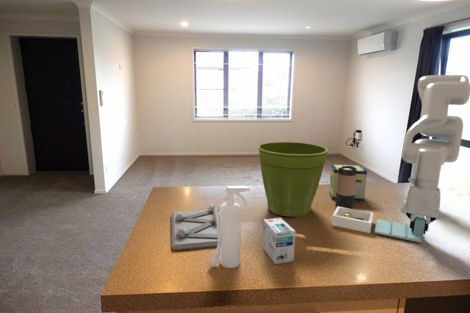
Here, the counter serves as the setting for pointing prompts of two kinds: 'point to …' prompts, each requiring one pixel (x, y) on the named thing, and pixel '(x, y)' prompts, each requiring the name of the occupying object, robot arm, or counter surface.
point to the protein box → (359, 184)
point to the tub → (353, 219)
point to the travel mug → (345, 187)
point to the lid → (402, 229)
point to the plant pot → (291, 175)
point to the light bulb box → (279, 240)
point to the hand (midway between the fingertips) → (418, 231)
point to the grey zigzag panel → (194, 229)
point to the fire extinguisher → (229, 228)
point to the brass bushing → (348, 215)
